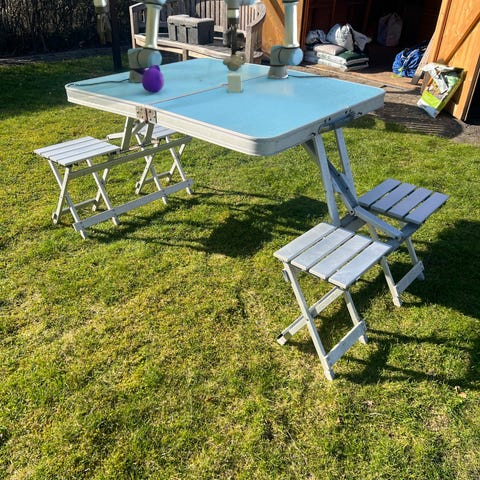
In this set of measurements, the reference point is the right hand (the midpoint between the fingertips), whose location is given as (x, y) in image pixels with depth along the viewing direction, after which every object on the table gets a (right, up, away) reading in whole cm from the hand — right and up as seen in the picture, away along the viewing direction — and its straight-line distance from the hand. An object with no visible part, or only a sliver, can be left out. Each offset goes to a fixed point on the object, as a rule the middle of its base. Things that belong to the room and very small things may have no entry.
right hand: (234, 53), depth 292 cm
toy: (-57, -19, +16) cm, 62 cm away
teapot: (-1, +18, +77) cm, 79 cm away
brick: (0, -20, +12) cm, 24 cm away
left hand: (-83, +6, -1) cm, 83 cm away
